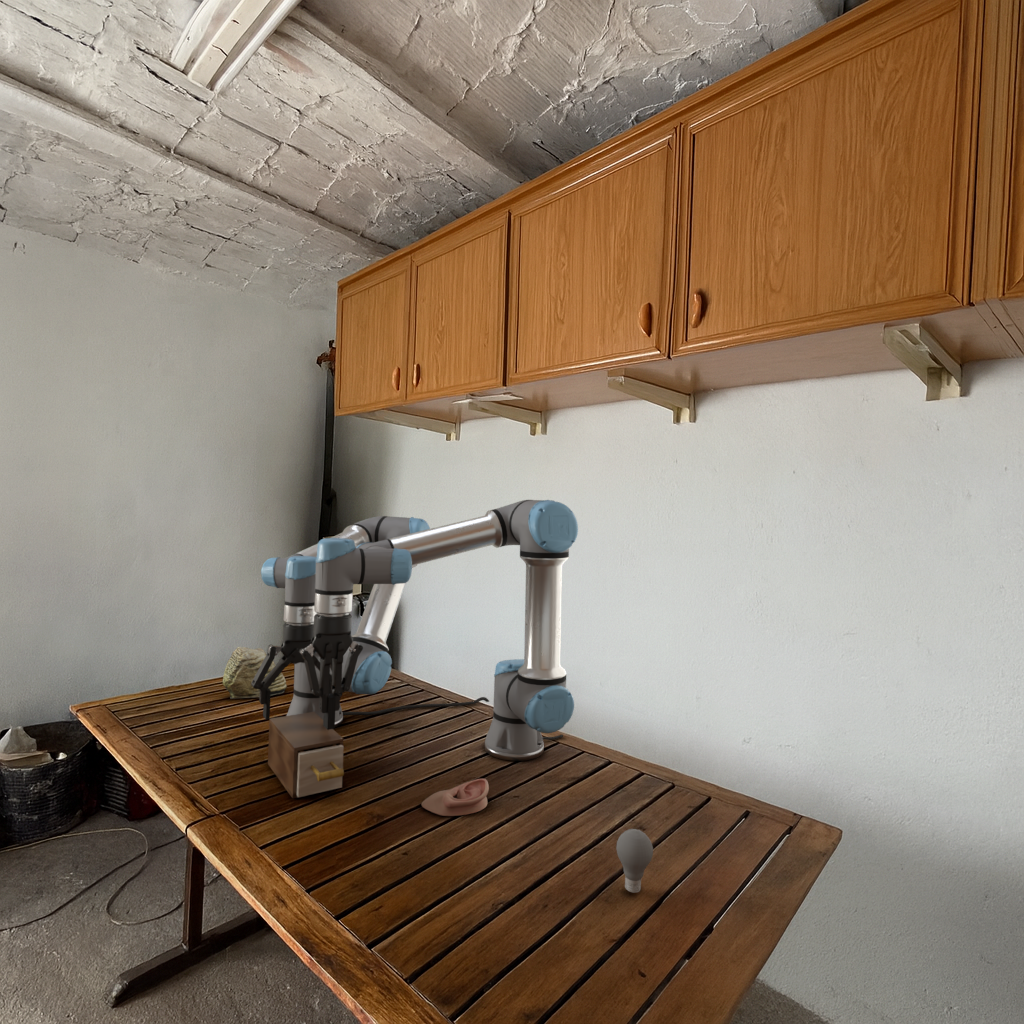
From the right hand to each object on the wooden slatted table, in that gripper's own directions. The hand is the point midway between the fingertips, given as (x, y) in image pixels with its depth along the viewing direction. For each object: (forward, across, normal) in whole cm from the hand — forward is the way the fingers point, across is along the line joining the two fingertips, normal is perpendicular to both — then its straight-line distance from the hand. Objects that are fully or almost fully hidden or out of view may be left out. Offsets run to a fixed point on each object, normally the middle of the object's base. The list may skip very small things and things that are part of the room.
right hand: (328, 726), depth 131 cm
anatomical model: (+16, +23, -14) cm, 31 cm away
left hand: (+4, 0, +21) cm, 22 cm away
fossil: (+16, +4, +79) cm, 81 cm away
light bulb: (+16, +33, -55) cm, 66 cm away
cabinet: (+16, 0, +15) cm, 22 cm away
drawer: (+15, 0, +10) cm, 18 cm away
